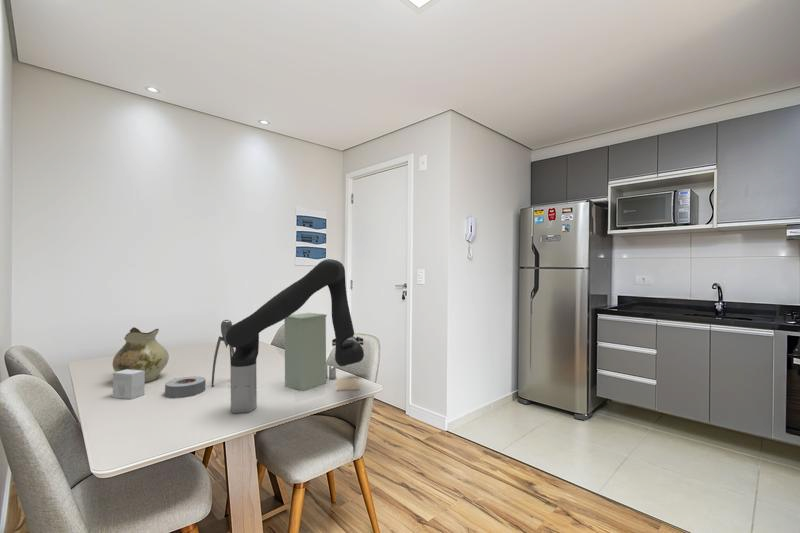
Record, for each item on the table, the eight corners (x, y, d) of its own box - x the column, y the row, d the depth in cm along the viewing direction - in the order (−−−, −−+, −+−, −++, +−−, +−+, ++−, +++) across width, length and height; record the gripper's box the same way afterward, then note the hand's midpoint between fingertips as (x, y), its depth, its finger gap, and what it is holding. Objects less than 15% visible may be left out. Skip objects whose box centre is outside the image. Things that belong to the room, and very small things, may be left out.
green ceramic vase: (148, 387, 171) (148, 332, 172) (97, 387, 172) (97, 332, 172) (178, 373, 194) (178, 325, 194) (133, 374, 194) (132, 325, 194)
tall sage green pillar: (327, 382, 176) (326, 314, 176) (302, 391, 164) (301, 318, 164) (309, 378, 184) (308, 312, 183) (283, 386, 172) (283, 316, 172)
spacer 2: (335, 379, 181) (335, 367, 181) (329, 379, 181) (328, 367, 181) (335, 377, 185) (335, 365, 185) (329, 377, 184) (329, 365, 184)
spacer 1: (327, 378, 183) (327, 366, 183) (320, 379, 182) (320, 366, 182) (327, 376, 186) (327, 364, 186) (321, 377, 185) (320, 365, 185)
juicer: (211, 386, 172) (210, 320, 172) (232, 380, 181) (231, 317, 181) (225, 390, 167) (225, 322, 167) (246, 383, 177) (246, 319, 177)
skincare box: (145, 394, 162) (145, 370, 162) (131, 399, 156) (131, 374, 156) (126, 392, 165) (126, 368, 165) (112, 397, 158) (111, 372, 158)
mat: (359, 389, 166) (359, 388, 166) (336, 391, 164) (336, 389, 164) (357, 379, 182) (357, 377, 182) (336, 380, 180) (336, 379, 180)
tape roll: (193, 385, 175) (192, 374, 175) (212, 390, 167) (212, 378, 167) (157, 394, 162) (157, 382, 162) (177, 401, 154) (177, 388, 154)
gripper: (365, 336, 157) (362, 329, 173) (330, 337, 154) (331, 330, 171) (365, 354, 156) (363, 345, 173) (330, 355, 154) (331, 347, 171)
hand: (347, 338), depth 172 cm, fingers closed on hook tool, 4 cm apart
